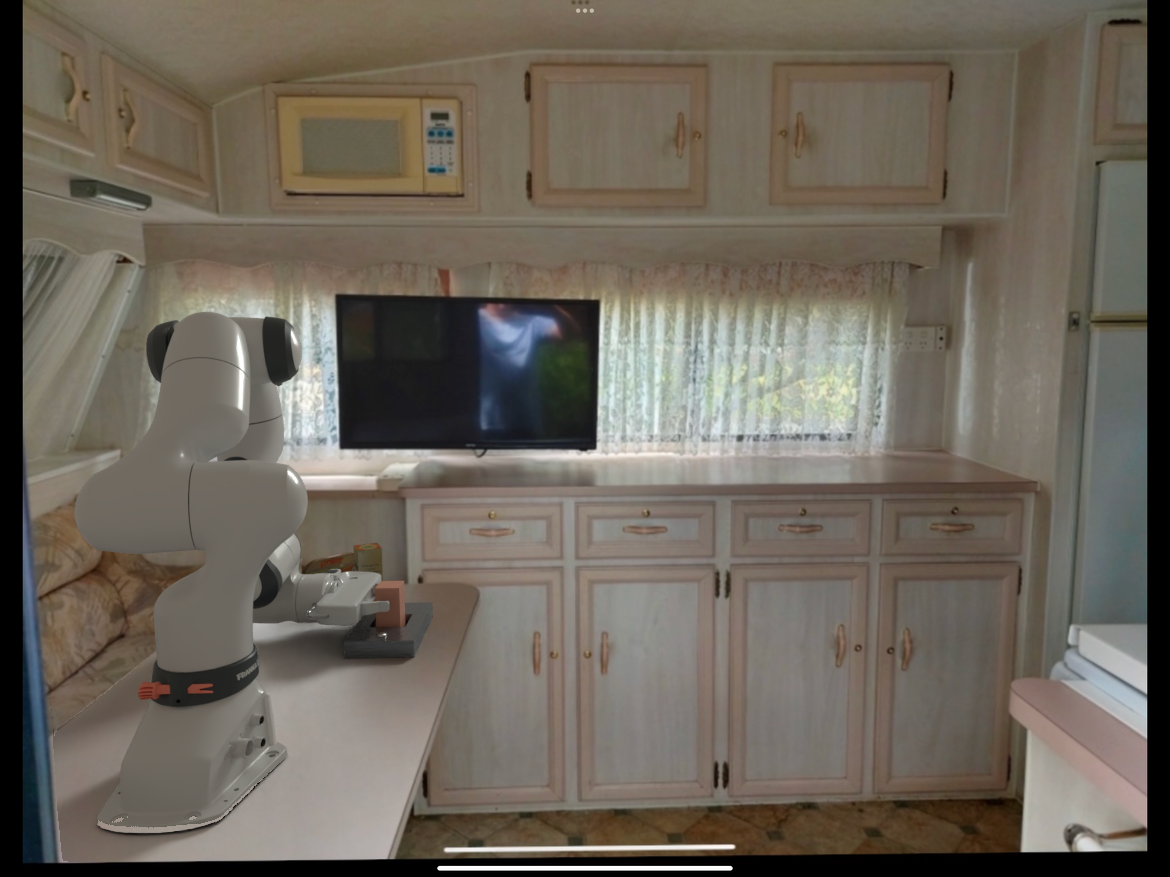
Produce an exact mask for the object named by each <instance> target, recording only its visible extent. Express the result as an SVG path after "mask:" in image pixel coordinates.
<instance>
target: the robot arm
mask: <svg viewBox="0 0 1170 877" xmlns="http://www.w3.org/2000/svg"><path fill="white" fill-rule="evenodd" d="M145 346H146V347H145V359H146V363H147V366H148V368H149V370H150V373H151V375H152V376H153V377H152V378H154V379H155V380H156V381H157V382H158V383H159V384H160V386H159V392H158V399H157V404H156V408H155V412H154V415H153V416H154V417H153V420H152V423H151V424H150V426H149V428H148V430H147V431H146V433H145V434H144V435H143V437H142V438H141V439H140V441H139V442H138V443H137V444H136V445H135V446H134V447H133V448H132V449H131V450H130V451H129V452H127V453H126V454H125V455H124V456H123V457H121V458H120V459H119V460H117V461H115V462H114V463H113V464H111V465H109V466H107V467H106V468H104V469H101V470H99V471H97V472H96V473H94V474H92V475H91V477H89V478H88V479H87V480H86V482H85V483H84V484H83V486H82V487H81V489H80V490H79V492H78V494H77V497H76V500H75V504H74V519H75V523H76V528H77V529H78V531H79V534H80V535H81V537H82V538H83V539H84V541H86V542H87V544H88V545H89V546H91V547H92V548H93V549H94V550H97V551H102V552H110V553H111V552H112V553H118V554H119V553H120V554H130V555H131V554H133V555H148V554H158V553H159V554H160V553H173V552H185V551H186V552H187V551H201V552H204V553H205V564H204V565H203V566H201V567H200V568H198V570H195V571H194V572H191V573H190V574H188V575H186V576H184V577H183V578H180V579H178V580H177V581H175V582H173V583H172V584H170V585H169V586H168V587H166V589H164V590H163V591H162V593H160V595H159V596H158V597H157V599H156V601H155V604H154V607H153V611H152V612H153V623H154V637H155V651H156V652H155V653H156V654H155V655H156V660H155V661H154V663H153V668H152V673H151V674H150V681H143V682H141V683H140V685H139V688H138V689H137V692H138V693H137V695H138V699H139V700H143V701H144V700H150V702H149V704H148V706H147V708H146V710H145V713H144V714H143V715H142V718H141V720H140V722H139V724H138V727H137V728H136V731H135V733H134V735H133V737H132V740H131V742H130V744H129V746H128V749H127V750H126V752H125V754H124V757H123V759H122V761H121V766H120V773H119V774H120V777H119V783H118V784H117V786H116V787H115V788H114V790H113V791H112V793H111V794H110V796H109V798H108V799H107V800H106V802H105V803H104V804H103V807H102V808H101V810H100V811H99V813H98V815H97V817H96V821H97V820H99V821H100V822H101V821H102V822H103V823H105V824H108V825H109V824H110V825H114V826H126V827H131V826H132V827H133V826H134V827H135V826H136V827H137V826H138V827H148V828H149V827H153V828H154V827H167V826H176V825H187V824H201V823H205V822H208V821H212V820H215V819H217V818H219V817H221V816H222V815H224V813H225V812H226V811H227V810H229V808H231V807H232V805H233V804H235V802H237V801H238V800H239V799H240V798H241V796H243V795H244V794H245V793H246V792H247V791H248V790H250V788H251V787H252V786H254V785H255V784H256V783H258V782H259V781H260V780H261V779H263V777H265V776H266V775H267V774H268V773H269V772H270V771H271V770H273V769H274V768H275V767H276V766H277V765H278V764H279V763H280V764H281V763H282V762H284V760H285V759H286V758H287V757H288V749H287V748H288V747H287V746H286V745H284V744H283V743H281V742H279V741H277V734H276V727H275V720H274V719H275V718H274V713H273V711H274V710H273V705H272V697H271V694H270V693H269V691H267V690H266V689H265V688H264V687H263V684H261V682H260V680H259V678H258V676H259V673H260V666H259V664H260V656H259V653H258V648H257V645H256V644H255V643H254V631H253V630H254V624H268V625H269V624H282V623H284V622H295V623H298V624H319V625H325V626H341V627H342V626H344V627H345V626H346V627H347V626H355V625H356V624H357V623H358V621H359V620H360V619H361V617H362V616H363V615H370V614H373V613H377V612H387V611H389V609H390V607H391V605H390V603H391V602H390V600H380V601H374V599H375V588H376V586H377V585H378V584H379V582H380V581H381V575H380V574H378V573H375V572H358V571H348V572H343V573H341V570H340V569H331V570H328V571H326V572H323V573H317V574H300V573H299V567H300V559H301V558H302V554H301V553H302V546H301V542H300V539H299V537H298V536H297V534H295V533H296V532H297V531H298V530H299V528H300V527H301V526H302V524H303V522H304V520H305V517H306V515H307V512H308V506H309V502H308V499H309V497H308V491H307V488H306V486H305V483H304V481H303V479H302V478H301V475H299V473H298V472H297V471H296V470H295V469H294V468H293V467H292V466H290V465H289V464H285V463H278V461H279V458H280V457H281V455H282V453H283V451H284V450H283V449H284V445H285V444H284V443H285V442H284V441H285V423H284V422H285V421H284V417H283V410H282V404H281V398H280V394H279V392H278V387H280V386H282V385H283V383H285V382H288V381H290V380H292V379H293V378H294V377H295V376H296V375H297V374H298V372H299V369H300V365H301V362H302V357H303V350H302V349H303V348H302V343H301V340H300V338H299V335H298V334H297V332H296V330H295V327H294V325H293V324H292V323H290V321H288V320H287V319H284V318H280V317H274V316H265V317H264V318H260V317H247V316H245V317H244V316H238V317H237V316H231V317H230V316H226V315H225V314H222V313H219V312H214V311H213V312H212V311H200V312H195V313H191V314H189V315H187V316H185V317H184V318H182V319H181V320H180V321H179V320H177V319H176V320H175V319H174V320H169V321H167V322H166V321H165V322H162V323H160V324H157V325H155V326H154V327H153V329H152V330H150V331H149V333H148V335H147V337H146V345H145ZM215 458H216V460H217V461H216V460H215V461H211V460H213V459H215ZM373 601H374V602H373ZM280 764H279V765H280ZM279 765H278V766H279ZM278 766H277V767H278ZM277 767H276V768H277ZM276 768H275V769H276ZM275 769H274V770H275ZM274 770H273V771H274ZM266 777H267V776H266ZM266 777H265V778H266ZM263 780H264V779H263ZM127 816H128V818H127ZM192 816H195V817H197V818H196V819H193V820H189V818H190V817H192ZM121 817H122V818H124V819H123V820H122V822H121V821H120V822H117V823H116V822H115V823H114V821H115V820H116V819H118V818H121ZM112 821H113V823H112Z"/></svg>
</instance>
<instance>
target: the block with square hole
mask: <svg viewBox="0 0 1170 877" xmlns="http://www.w3.org/2000/svg"><path fill="white" fill-rule="evenodd" d="M433 615H434V614H433V602H432V601H431V602H430V601H429V602H427V601H426V602H405V625H406V627H376V613H373V614H370V615H363V616H362V617H361V619H360V620H359V621H358V623H357V624H355V625H354V627H353V628H352V629H351V631H350V632H349V634H348V635H347V637H346V638H344V641H343V657H344V658H343V659H381V658H382V659H383V658H384V659H385V658H389V659H390V658H415V657H416V655H417V654H416V653H417V652H418V650H419V647H420V645H421V643H422V641H423V639H424V637H425V634H426V633H427V630H428V628H429V626H430V623H431V622H432V619H433V617H434V616H433Z"/></svg>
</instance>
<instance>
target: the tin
mask: <svg viewBox="0 0 1170 877" xmlns="http://www.w3.org/2000/svg"><path fill="white" fill-rule="evenodd" d="M331 569H340V570H341V573H343V572H348V571H354V552H343V553H339V554H334V555H330V556H324V557H320V558H315V559H313V560H311V561H309V562H308V563H307V564H305V567H303V569H302V574H317V573H323V572H326V571H328V570H331Z"/></svg>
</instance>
